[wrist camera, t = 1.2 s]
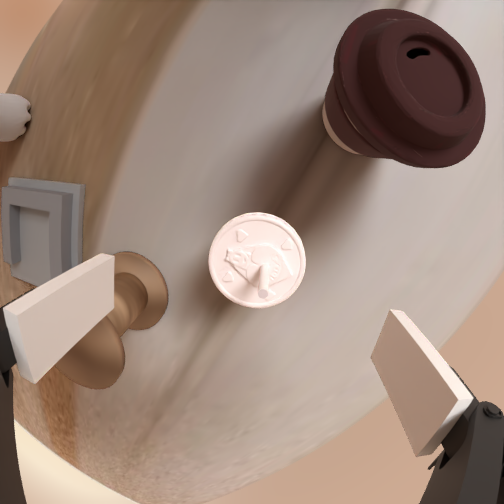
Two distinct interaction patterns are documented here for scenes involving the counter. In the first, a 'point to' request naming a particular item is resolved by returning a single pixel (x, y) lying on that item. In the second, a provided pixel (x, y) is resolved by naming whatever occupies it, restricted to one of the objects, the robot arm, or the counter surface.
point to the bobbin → (117, 323)
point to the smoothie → (257, 260)
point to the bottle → (13, 116)
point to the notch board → (41, 228)
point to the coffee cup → (404, 92)
